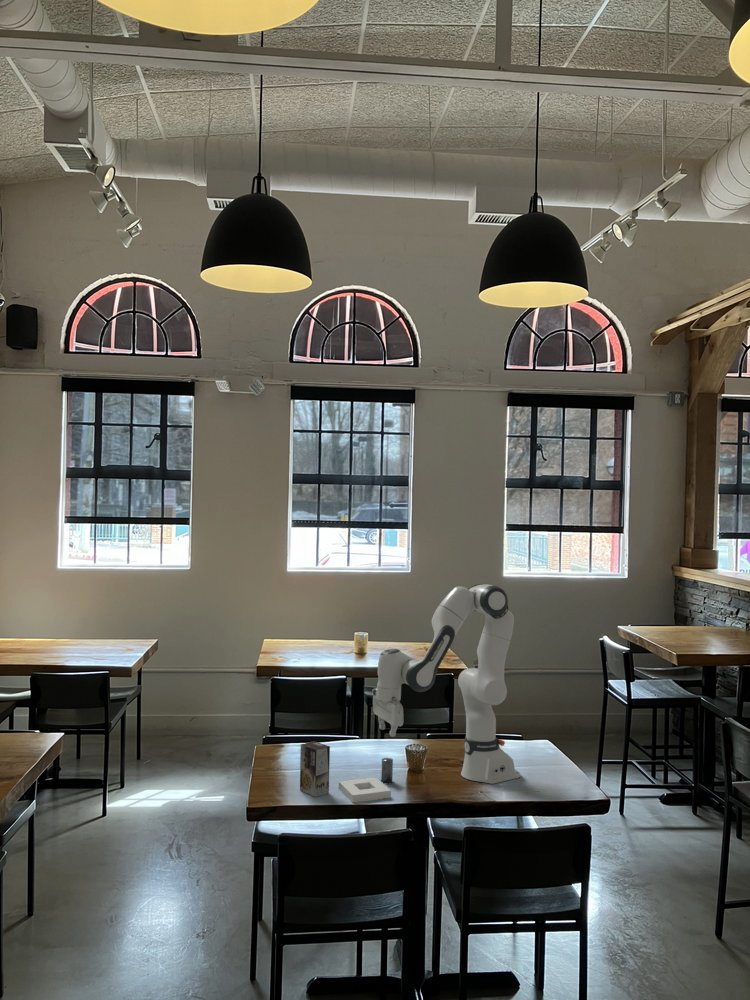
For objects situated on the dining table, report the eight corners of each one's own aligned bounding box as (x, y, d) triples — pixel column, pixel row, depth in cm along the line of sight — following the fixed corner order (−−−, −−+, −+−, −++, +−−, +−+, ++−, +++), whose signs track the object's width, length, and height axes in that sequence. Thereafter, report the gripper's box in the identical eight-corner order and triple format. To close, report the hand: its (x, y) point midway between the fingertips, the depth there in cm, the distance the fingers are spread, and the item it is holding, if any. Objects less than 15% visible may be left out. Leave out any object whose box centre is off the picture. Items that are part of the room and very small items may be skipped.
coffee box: (329, 793, 259) (330, 746, 259) (315, 797, 254) (316, 749, 255) (313, 786, 266) (314, 740, 266) (298, 790, 261) (300, 743, 262)
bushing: (389, 779, 274) (390, 757, 274) (394, 783, 270) (394, 760, 271) (379, 780, 273) (380, 758, 273) (383, 784, 269) (384, 762, 269)
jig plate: (375, 784, 269) (375, 777, 269) (390, 797, 256) (390, 790, 256) (338, 788, 263) (338, 781, 263) (352, 802, 250) (352, 795, 251)
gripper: (408, 700, 264) (407, 739, 264) (385, 688, 283) (384, 724, 282) (392, 701, 262) (390, 741, 261) (370, 688, 281) (369, 725, 280)
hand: (387, 732), depth 272 cm, fingers open, 8 cm apart
